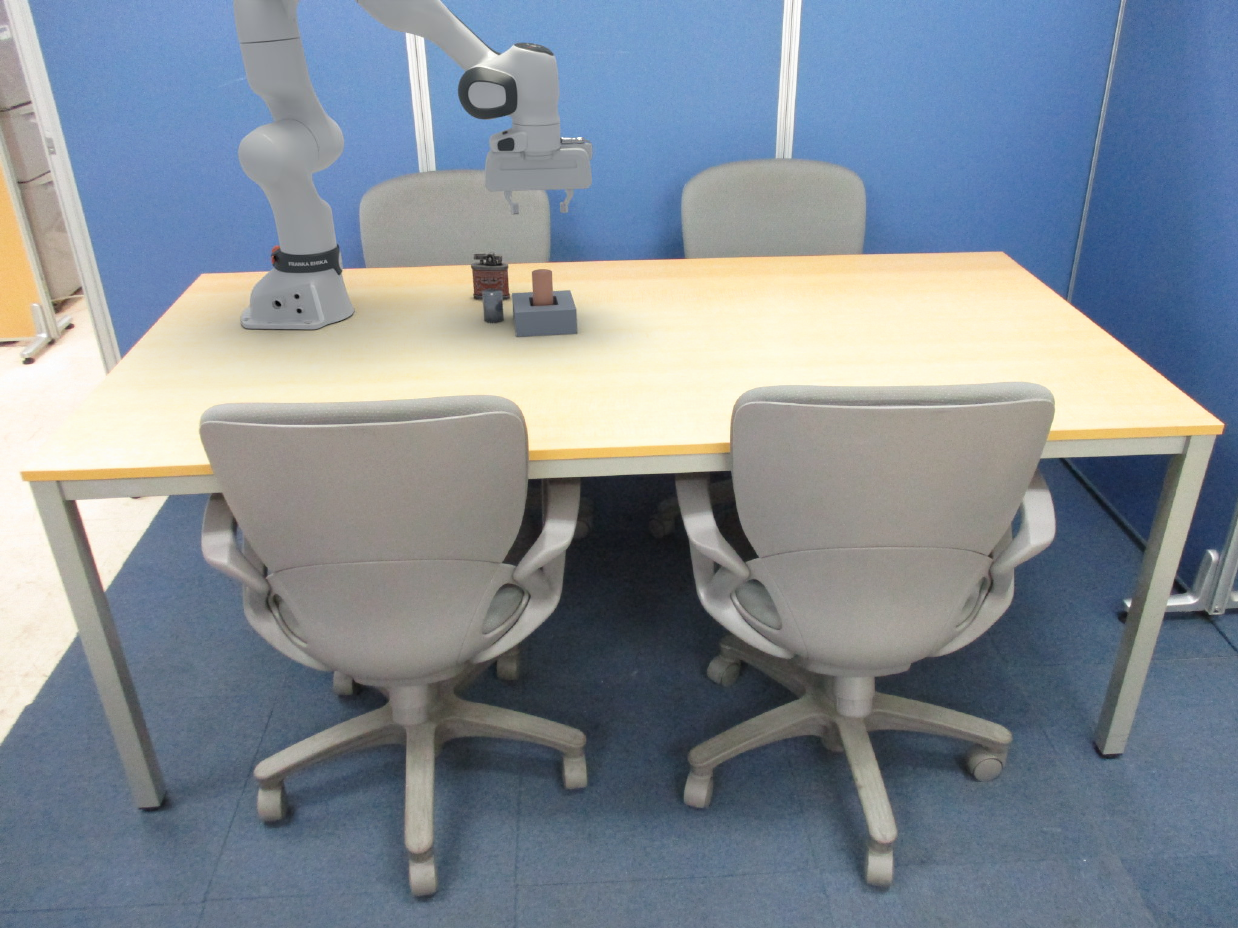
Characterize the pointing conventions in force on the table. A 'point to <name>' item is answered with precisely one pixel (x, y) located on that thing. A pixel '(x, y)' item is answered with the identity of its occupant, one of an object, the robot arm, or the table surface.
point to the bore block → (544, 315)
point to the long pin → (542, 287)
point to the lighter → (489, 275)
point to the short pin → (493, 305)
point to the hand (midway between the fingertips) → (539, 213)
